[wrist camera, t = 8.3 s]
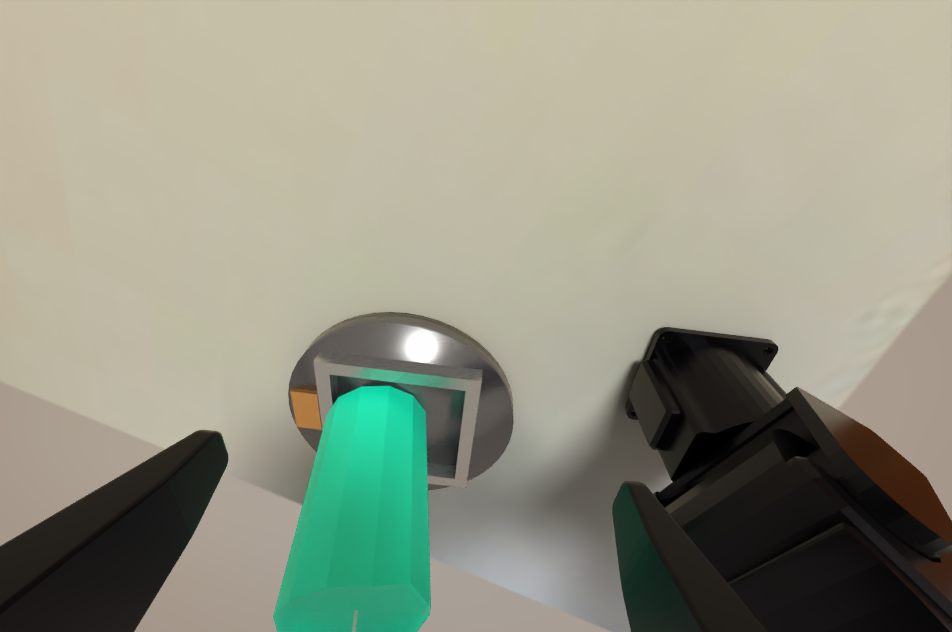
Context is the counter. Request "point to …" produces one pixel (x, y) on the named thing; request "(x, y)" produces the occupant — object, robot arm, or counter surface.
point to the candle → (363, 522)
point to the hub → (412, 387)
